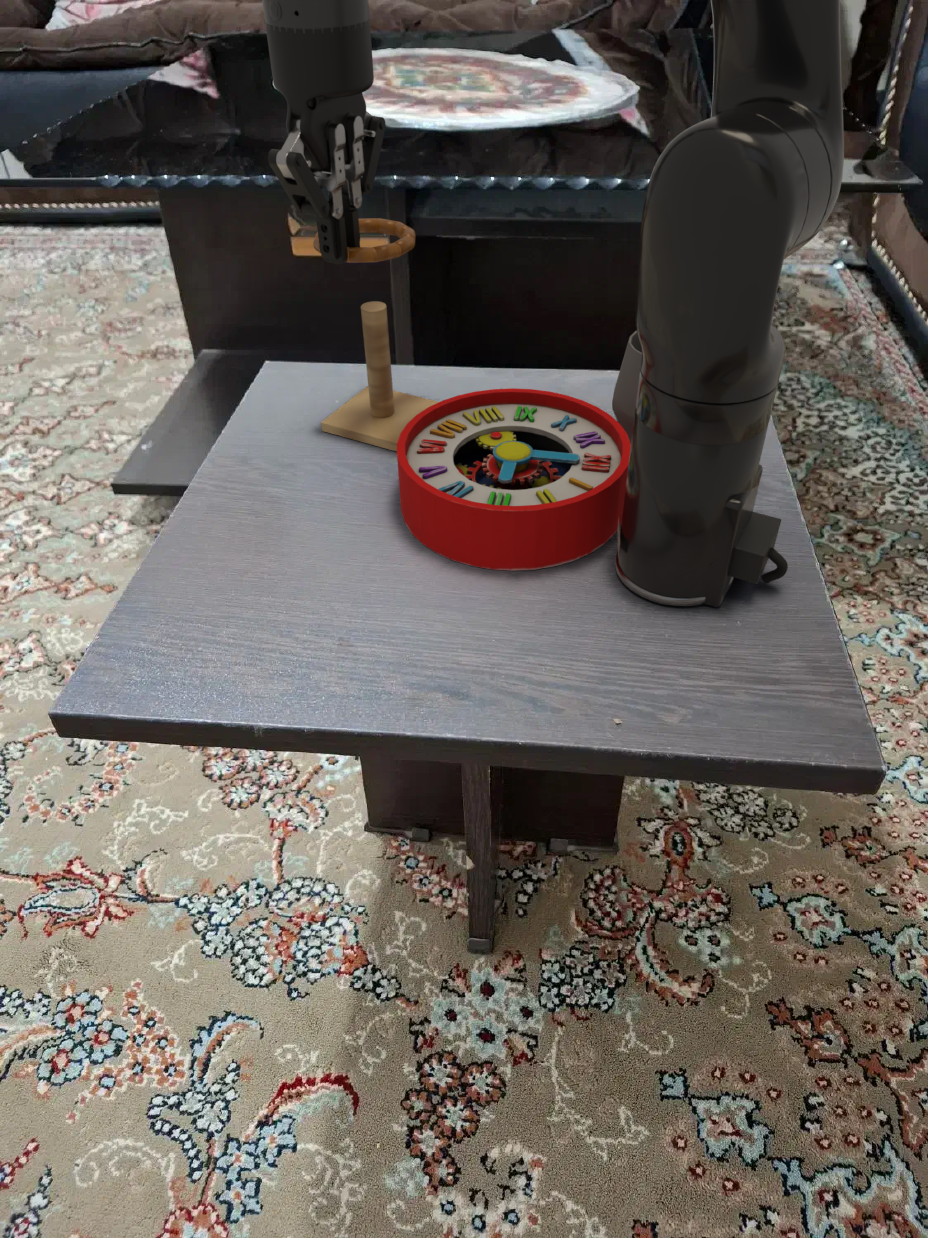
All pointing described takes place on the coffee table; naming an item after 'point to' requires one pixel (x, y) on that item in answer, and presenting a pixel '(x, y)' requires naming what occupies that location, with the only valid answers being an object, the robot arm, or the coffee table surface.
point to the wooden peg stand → (376, 391)
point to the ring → (382, 251)
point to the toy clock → (513, 478)
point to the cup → (628, 385)
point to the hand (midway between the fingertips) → (341, 257)
